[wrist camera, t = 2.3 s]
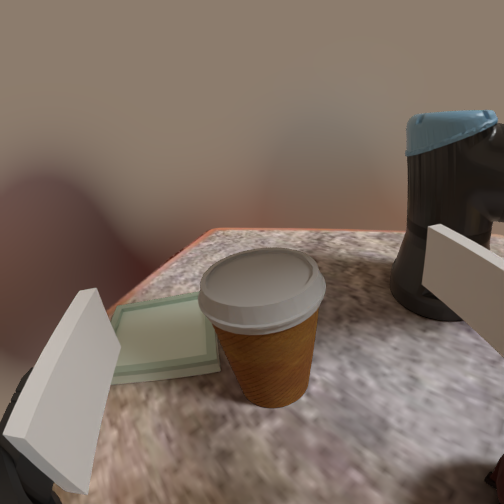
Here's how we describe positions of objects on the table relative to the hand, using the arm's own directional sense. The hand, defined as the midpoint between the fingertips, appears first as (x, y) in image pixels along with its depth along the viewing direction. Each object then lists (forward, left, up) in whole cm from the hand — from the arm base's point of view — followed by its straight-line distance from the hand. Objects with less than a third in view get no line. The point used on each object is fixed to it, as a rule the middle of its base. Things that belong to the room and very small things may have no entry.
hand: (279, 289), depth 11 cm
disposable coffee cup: (0, -10, -17) cm, 20 cm away
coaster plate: (+12, -20, -17) cm, 29 cm away
